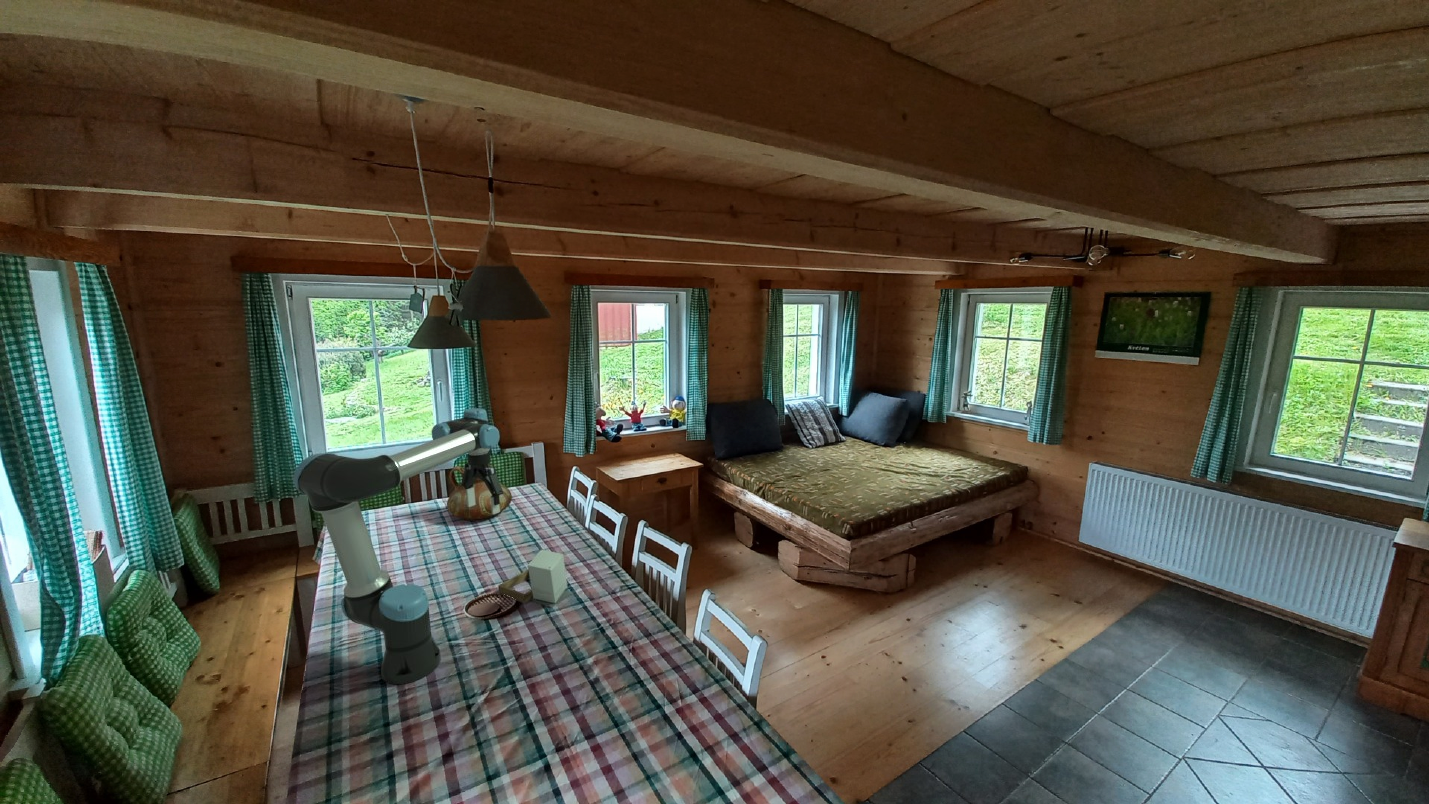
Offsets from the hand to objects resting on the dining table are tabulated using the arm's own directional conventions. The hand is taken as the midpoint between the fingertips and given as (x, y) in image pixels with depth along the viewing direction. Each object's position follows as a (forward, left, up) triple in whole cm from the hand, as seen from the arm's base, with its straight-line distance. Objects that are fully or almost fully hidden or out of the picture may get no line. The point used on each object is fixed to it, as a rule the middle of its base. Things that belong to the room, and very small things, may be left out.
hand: (483, 509), depth 194 cm
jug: (+44, +65, -31) cm, 84 cm away
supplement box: (+7, -24, -29) cm, 38 cm away
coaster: (+7, -25, -31) cm, 40 cm away
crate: (+6, -13, -31) cm, 34 cm away
